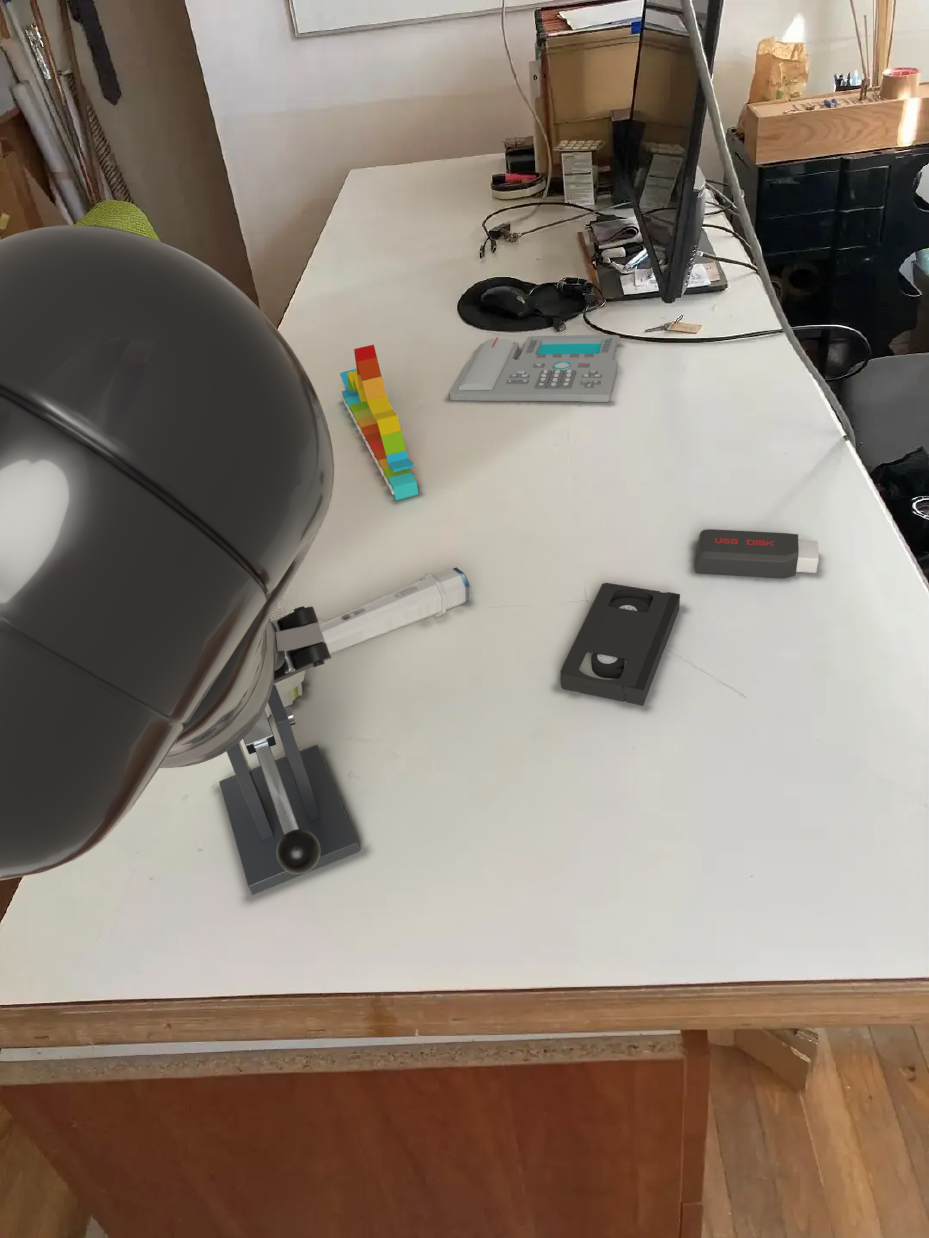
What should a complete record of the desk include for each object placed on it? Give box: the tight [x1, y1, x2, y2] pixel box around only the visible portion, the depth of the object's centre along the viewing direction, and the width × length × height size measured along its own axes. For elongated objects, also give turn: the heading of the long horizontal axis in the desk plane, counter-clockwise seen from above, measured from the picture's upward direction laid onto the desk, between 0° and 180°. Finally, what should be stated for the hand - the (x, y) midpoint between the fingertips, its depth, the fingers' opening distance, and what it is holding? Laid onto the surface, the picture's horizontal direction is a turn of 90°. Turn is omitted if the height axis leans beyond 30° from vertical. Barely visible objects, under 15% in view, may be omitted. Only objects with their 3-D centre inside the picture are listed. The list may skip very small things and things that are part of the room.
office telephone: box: [448, 334, 621, 403], centre depth 139 cm, size 23×3×20 cm
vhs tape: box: [560, 582, 681, 706], centre depth 89 cm, size 14×8×2 cm, turn 157°
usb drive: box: [695, 528, 820, 579], centre depth 97 cm, size 5×12×3 cm, turn 75°
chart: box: [339, 344, 419, 501], centre depth 122 cm, size 30×3×15 cm, turn 18°
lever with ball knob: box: [242, 709, 321, 875], centre depth 69 cm, size 13×3×3 cm, turn 22°
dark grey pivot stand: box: [218, 684, 361, 896], centre depth 74 cm, size 12×9×13 cm
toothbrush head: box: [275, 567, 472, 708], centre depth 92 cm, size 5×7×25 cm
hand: (200, 693), depth 48 cm, fingers closed
